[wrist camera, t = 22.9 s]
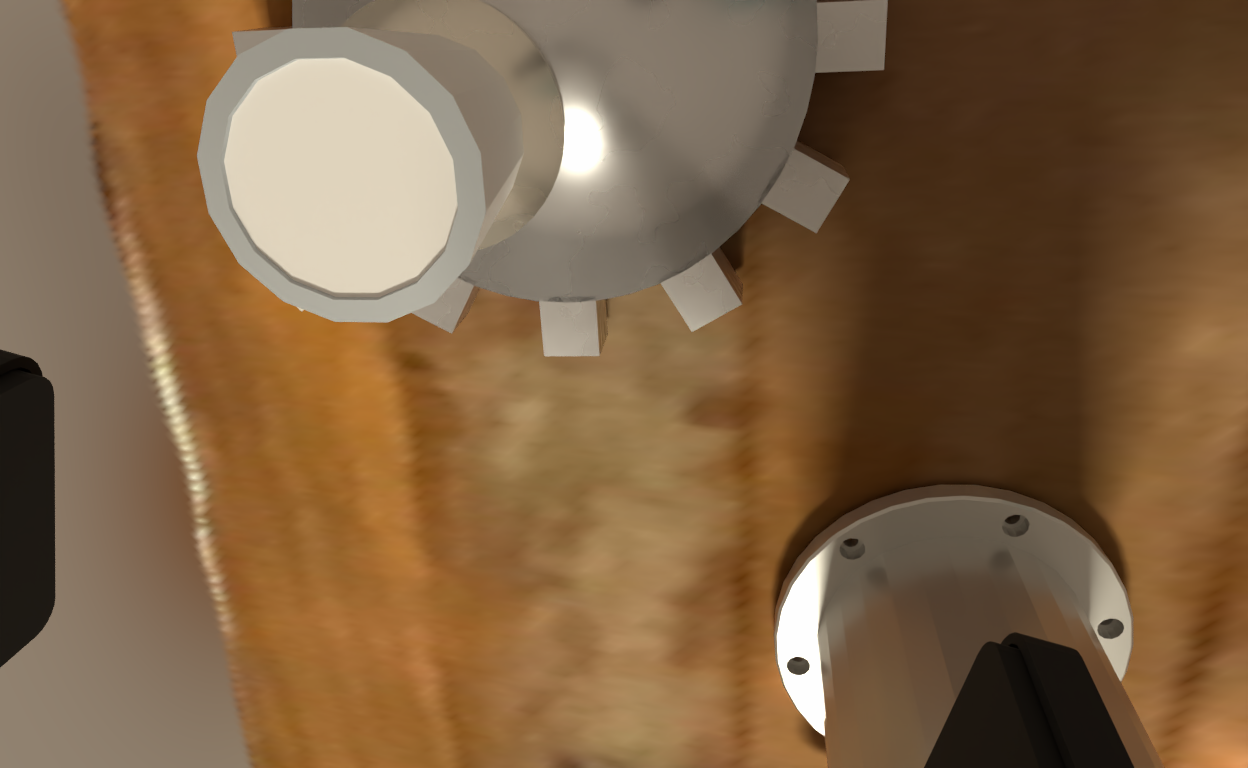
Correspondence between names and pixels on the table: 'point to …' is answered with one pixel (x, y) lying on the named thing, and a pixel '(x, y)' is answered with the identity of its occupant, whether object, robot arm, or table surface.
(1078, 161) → the table surface
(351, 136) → the white cup
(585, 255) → the index wheel
